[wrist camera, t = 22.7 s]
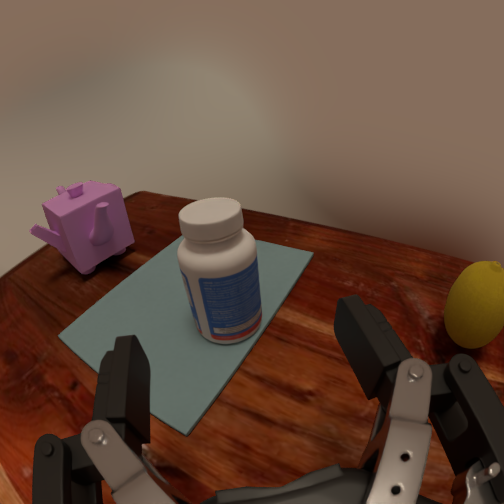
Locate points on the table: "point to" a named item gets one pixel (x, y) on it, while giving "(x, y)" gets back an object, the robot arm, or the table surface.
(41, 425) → the table surface
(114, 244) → the teapot
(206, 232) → the pill bottle
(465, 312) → the lemon
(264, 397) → the table surface
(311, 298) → the table surface
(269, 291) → the cloth mat
